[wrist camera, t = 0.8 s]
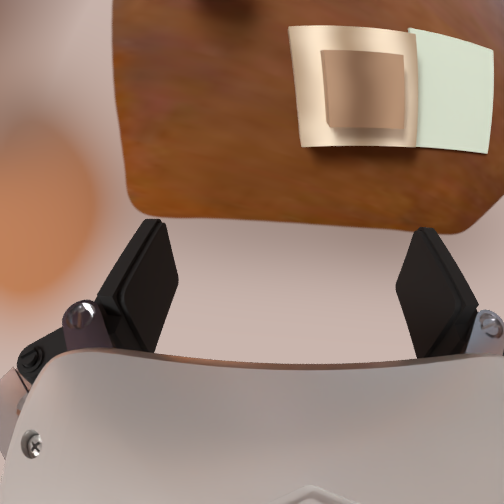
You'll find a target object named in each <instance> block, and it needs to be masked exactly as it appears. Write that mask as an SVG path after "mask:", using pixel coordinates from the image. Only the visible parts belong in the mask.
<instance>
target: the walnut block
mask: <svg viewBox="0 0 504 504" xmlns="http://www.w3.org/2000/svg"><path fill="white" fill-rule="evenodd" d="M320 54H321V63H322V74H323V85H324V98H325V112H326V122H327V124H328V126H329V127H330V128H338V127H359V128H392V129H404V119H405V77H404V55H400V54H391V53H382V52H370V51H353V50H321V51H320Z"/></svg>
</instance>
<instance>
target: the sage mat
mask: <svg viewBox="0 0 504 504" xmlns="http://www.w3.org/2000/svg"><path fill="white" fill-rule="evenodd" d="M408 33H413V34H416V44H417V61H418V123H417V140H416V147H430V148H442V149H453V150H462V151H471V152H478V153H486V154H487V153H488V146H489V139H490V130H491V121H492V108H493V88H494V62H493V50H490V49H488V48H485V47H482V46H479V45H476V44H473V43H470V42H467V41H463V40H460V39H456V38H453V37H449V36H445V35H441V34H437V33H432V32H428V31H423V30H418V29H412V28H408Z"/></svg>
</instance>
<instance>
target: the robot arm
mask: <svg viewBox="0 0 504 504" xmlns="http://www.w3.org/2000/svg"><path fill="white" fill-rule="evenodd" d="M177 286H178V273H177V269H176V265H175V261H174V257H173V253H172V249H171V245H170V240H169V236H168V232H167V228H166V224H165V223H162V222H161V220H160V219H145V220H144V221H143V222H142V224H141V225H140V227H139V228H138V230H137V231H136V233H135V234H134V236H133V237H132V239H131V240H130V242H129V243H128V245H127V247H126V248H125V250H124V251H123V253H122V254H121V256H120V257H119V259H118V261H117V262H116V264H115V265H114V267H113V269H112V270H111V272H110V274H109V275H108V277H107V279H106V281H105V282H104V284H103V285H102V287H101V289H100V291H99V292H98V294H97V298H96V299H95V301H91V300H81V301H78V302H76V303H74V304H73V305H71V306H70V307H69V308H68V309H67V311H66V312H65V313H64V316H63V318H62V326H63V327H61V328H59V329H57V330H56V331H54V332H52V333H50V334H48V335H46V336H45V337H43V338H41V339H39V340H37V341H35V342H34V343H32V344H30V345H28V346H27V347H26V348H24V350H23V351H22V352H21V353H20V355H19V357H18V361H17V368H16V369H15V368H14V367H12V368H11V369H10V370H9V371H8V372H7V373H6V374H5V375H4V376H3V377H2V378H1V379H0V451H1V453H2V455H3V457H4V459H5V464H4V469H3V474H2V478H1V484H0V504H504V323H503V321H502V319H501V318H500V317H499V316H498V315H497V314H496V313H494V312H492V311H490V310H481V311H480V312H477V309H476V308H477V306H478V305H479V304H478V302H477V300H476V298H475V296H474V294H473V292H472V291H471V289H470V287H469V285H468V283H467V281H466V280H465V278H464V276H463V274H462V273H461V271H460V269H459V267H458V266H457V264H456V262H455V261H454V259H453V257H452V256H451V254H450V253H449V251H448V249H447V248H446V246H445V245H444V243H443V242H442V240H441V238H440V237H439V235H438V234H437V232H436V231H435V230H434V229H433V228H426V227H420V228H419V229H418V230H417V231H415V232H414V234H413V237H412V240H411V243H410V246H409V249H408V252H407V255H406V258H405V260H404V263H403V266H402V269H401V271H400V274H399V277H398V280H397V282H396V293H397V295H398V298H399V301H400V304H401V307H402V310H403V313H404V316H405V319H406V323H407V326H408V329H409V332H410V336H411V339H412V343H413V345H414V349H415V353H416V357H417V359H409V360H398V361H385V362H370V363H346V364H277V363H276V364H275V363H253V362H236V361H222V360H211V359H200V358H191V357H181V356H173V355H164V354H156V353H154V351H155V349H156V346H157V343H158V340H159V336H160V334H161V331H162V328H163V325H164V322H165V319H166V317H167V314H168V311H169V308H170V305H171V303H172V300H173V297H174V294H175V292H176V289H177Z"/></svg>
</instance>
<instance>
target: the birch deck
mask: <svg viewBox="0 0 504 504" xmlns="http://www.w3.org/2000/svg"><path fill="white" fill-rule="evenodd" d="M288 35H289V42H290V50H291V58H292V66H293V74H294V83H295V93H296V102H297V113H298V124H299V136H300V141H301V147H314V146H398V147H416V140H417V123H418V61H417V44H416V34H413V33H407V32H400V31H393V30H386V29H377V28H366V27H351V26H291V27H288ZM321 50H353V51H370V52H382V53H391V54H400V55H404V77H405V119H404V129H392V128H359V127H338V128H330V127H329V126H328V124H327V122H326V112H325V98H324V85H323V74H322V63H321V54H320V51H321Z"/></svg>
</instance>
